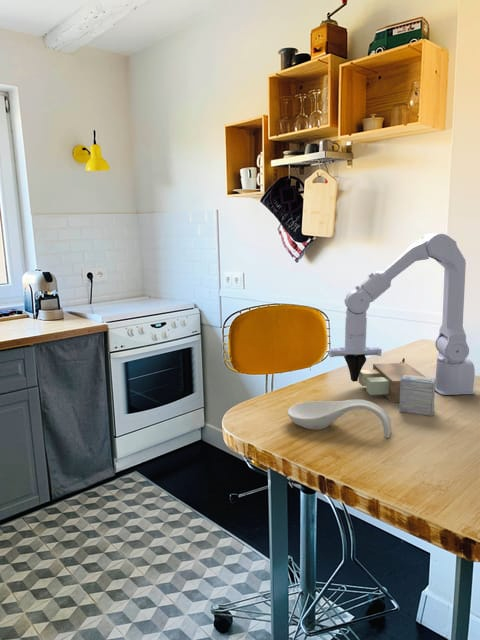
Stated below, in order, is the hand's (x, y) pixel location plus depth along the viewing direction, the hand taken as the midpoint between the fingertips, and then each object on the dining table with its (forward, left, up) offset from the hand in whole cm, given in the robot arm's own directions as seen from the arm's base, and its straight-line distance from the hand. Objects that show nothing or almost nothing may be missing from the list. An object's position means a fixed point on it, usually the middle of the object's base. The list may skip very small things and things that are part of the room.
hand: (354, 380), depth 141 cm
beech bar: (-6, 0, -1) cm, 6 cm away
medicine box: (-11, +18, -3) cm, 21 cm away
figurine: (-18, -11, -3) cm, 21 cm away
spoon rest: (+11, +26, -3) cm, 29 cm away
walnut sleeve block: (-12, +3, -2) cm, 13 cm away
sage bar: (-6, +7, -1) cm, 9 cm away
